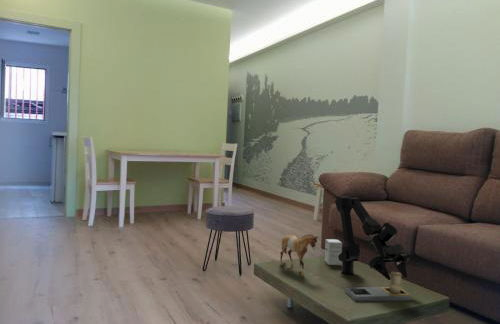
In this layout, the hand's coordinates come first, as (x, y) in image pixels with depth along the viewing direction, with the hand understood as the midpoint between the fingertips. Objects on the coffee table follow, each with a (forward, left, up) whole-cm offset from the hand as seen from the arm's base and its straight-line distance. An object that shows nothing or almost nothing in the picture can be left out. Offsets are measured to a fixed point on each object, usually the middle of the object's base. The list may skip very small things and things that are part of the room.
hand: (398, 278), depth 173 cm
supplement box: (-43, -29, -8) cm, 53 cm away
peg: (-1, -1, -8) cm, 8 cm away
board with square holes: (+2, -8, -8) cm, 12 cm away
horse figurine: (-25, -46, -8) cm, 53 cm away
